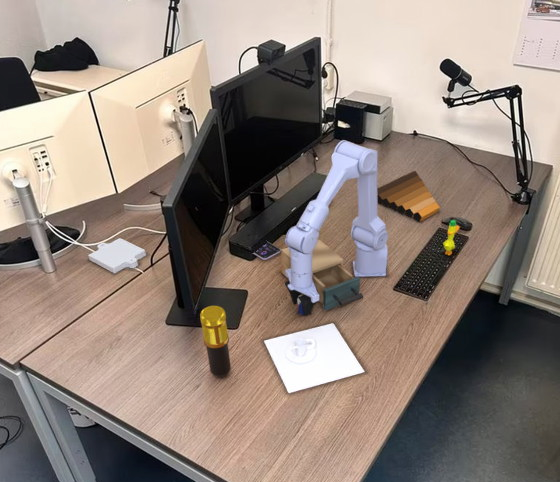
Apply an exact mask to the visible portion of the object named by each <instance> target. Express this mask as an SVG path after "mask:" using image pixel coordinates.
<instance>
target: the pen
mask: <svg viewBox="0 0 560 482" xmlns="http://www.w3.org/2000/svg"><path fill="white" fill-rule="evenodd" d="M302 295H303V294H302ZM302 295H300V296H302ZM300 296H298V297H300ZM297 301H298V304H297V305H298V314H299V315H301V316H302V315H303V316H305V315H304V314H303V309H302V304H301V302H300V300H299V298H297Z"/></svg>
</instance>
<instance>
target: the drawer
mask: <svg viewBox="0 0 560 482" xmlns="http://www.w3.org/2000/svg"><path fill="white" fill-rule="evenodd" d="M312 280H313V283H314V285H315V288H316V291H317V293H319V295H320V297H319V301H318V302H319V303H321V305H323V306H322V309H323V310H324V311H325V312H326V311H329V310H332V309H335V308H337V307H339V306H340V307H341V308H342V307H345V306H347V305H350V304H353V303H355V302H357V301H360V300H363V299H364V294H363V293H362V292H360V287H361V285H360V284H361V277H355V276H354V275H353V274H352V273H351V272H350V271H349V270H347V269H346V268H344V266H343V267H342V266H341V265H340V264H337V265H334V266H332V267H329V268H326V269H323V270H321V271H318V272H315V273H312Z"/></svg>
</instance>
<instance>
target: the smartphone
mask: <svg viewBox="0 0 560 482" xmlns="http://www.w3.org/2000/svg"><path fill="white" fill-rule="evenodd" d="M252 254H253V255H254V256H256V257H258V258H259V259H261V260H263V261H266V260H270V259H271V258H272V257H274V256H276V255H278V254H281V248H280V247H277V246H276V245H274V244H272V243H271V242H269V241H267V243H266V244H265V245H263V246H262V247H261V248H259V249H258V250H257V251H256V252H254V253H252Z"/></svg>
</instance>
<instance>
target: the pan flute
mask: <svg viewBox="0 0 560 482" xmlns="http://www.w3.org/2000/svg"><path fill="white" fill-rule="evenodd" d="M377 204H378V205H383V207H386V208H390V209H391V210H392V211H394V212H398V213H399V214H401V215H406V217H408V218H410V219H414V221H416V222H419V223H420V222H422V221H424V220H425V219H427V218H429V217H432V216H433V215H434V214H437V213H438V212H439V211H440V208H441V207H440V205H439V204H438V203H437V201H436V199H435V198H434V197H433V195H432V193H431V192H430V191H429V189H428V187H427V186H426V184H425V183H424V181H423V180H422V178H421V177H420V175H419V174H418V173H417V171H416V170H413V171H411V172H409V173H406V174H404V175H403V176H400V177H398V178H396V179H394V180H391V181H390V182H387V183H385V184H384V185H382V186H380V187H377Z"/></svg>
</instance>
